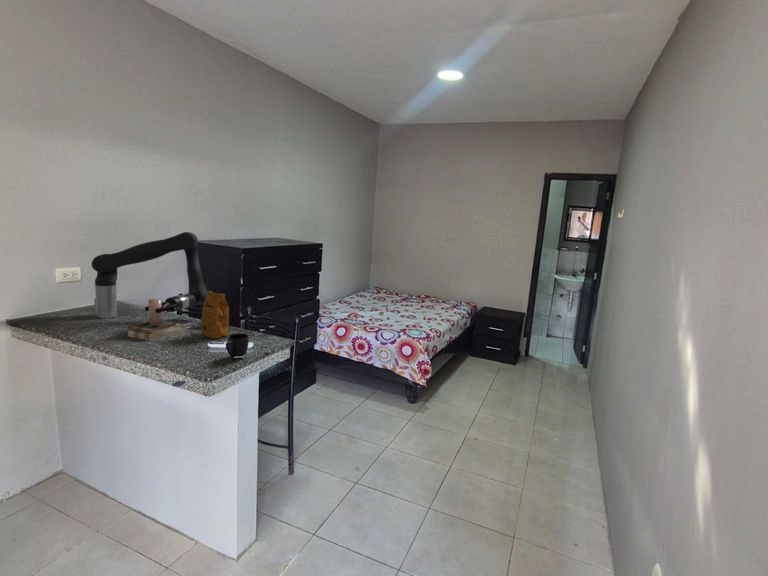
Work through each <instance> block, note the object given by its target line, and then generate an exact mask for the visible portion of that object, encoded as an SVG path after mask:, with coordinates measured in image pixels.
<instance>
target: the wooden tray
mask: <svg viewBox="0 0 768 576" xmlns="http://www.w3.org/2000/svg"><path fill="white" fill-rule="evenodd" d="M181 330H182V324H181V323H178V322H176V321H174V322H171V321H166V320H162V324H161V325H157V326H151V325H149V321H145V322H143V323H140V324H136V325H127V330H126V331H127V337H128V336H129V337H128V338H133V337H135V338H134V339H138V338H140V339H139V340H143V339H145V341H148V340H150V341H153V340H156V339H158V337H159V338H162V337H164V336H167V335H170V334H173V333H176V332H179V331H181ZM161 336H162V337H161ZM155 338H156V339H155ZM152 339H153V340H152Z"/></svg>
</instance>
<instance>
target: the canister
mask: <svg viewBox="0 0 768 576" xmlns="http://www.w3.org/2000/svg"><path fill="white" fill-rule="evenodd" d="M162 302H163V301H162V299H161V298H150V299H148V301H147V304H148V306H149V311H148V322H149V325H151V326H157V325H161V324H162V321H163V312H160V313H156V310H155V309H156V308H160V307H162Z"/></svg>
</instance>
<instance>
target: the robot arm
mask: <svg viewBox="0 0 768 576" xmlns="http://www.w3.org/2000/svg"><path fill="white" fill-rule="evenodd" d="M178 251H184V254H185V257H186V273H187V278H188V284H189V287H190V288H194V289H196V291H192V292H188V293H185V294H180V295H176V296H170V297H168V298H166V299H165V300H164V301H162V307H160V308H156V309H155V310H156V313H160V312H162V313H175V312H177V311H181V310H184V309H188V308H190V307H193V306H194V305H195V306H196V305H201V304H202V305H204V302H205V299H206V296H207V294H208V291H209V290H208V289H207V287H206V285H205V283H204V278H203V274H202V268H201V265H200V259H199V240H198V237H197V235H196V234H194V233H193V232H189V231H184V232H181V233H178V234H176V235H174V236H173V235H172V236H171V237H167V238H165V239H164V238H163V239H158V240H153V241H147V242H144V243H140V244H136V245H133V246H131V247H129V248H126V249H123V250H121V251H118V252H115V253H114V252H113V253H103V254H102V253H101V254H99V255H97V256H95V257H94V258H93V259H92V260H91V268H92V269H93V270H94V271H95V272H97V273H96V277H95V279H94V287H95V288H94V291H95V292H94V293H95V298H94V299H93V301H94V317H96V318H97V317H98V319H113V318H117V316H118V307H117V306H118V303H117V302H118V301H117V280H118V268H122V267H124V266H128V265H134V264H139V263H143V262H144V263H145V262H148V261H151V260H152V261H153V260H155V259H158V258H160V257H163V256H165V255H167V254H169V253H170V254H171V253H172V252H178ZM144 311H145V312H149V305H147V306H145V307H144ZM112 317H113V318H112Z"/></svg>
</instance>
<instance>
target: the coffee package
mask: <svg viewBox="0 0 768 576" xmlns="http://www.w3.org/2000/svg"><path fill="white" fill-rule="evenodd" d="M207 291H208V294H207V296H206V299H205V302H204V304H203V306H202V310H203V311H202V310H201V312H202V313H201V319H200V320H201V321H200V324H201V336H204V335H205V336H206V337H207V338H208V337H210V338H209V339H214V338H215V340H217V339H216V338H218V339H219V338H221V337H225V336H227V335H228V336H229V322H230V321H229V318H230V314H229V313H230V306H229V304H228V302H227V300H226V298H225V297H226V296H227V295H226V294H225V293H216V292H215V293H214V292H213V291H211V290H207Z"/></svg>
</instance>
